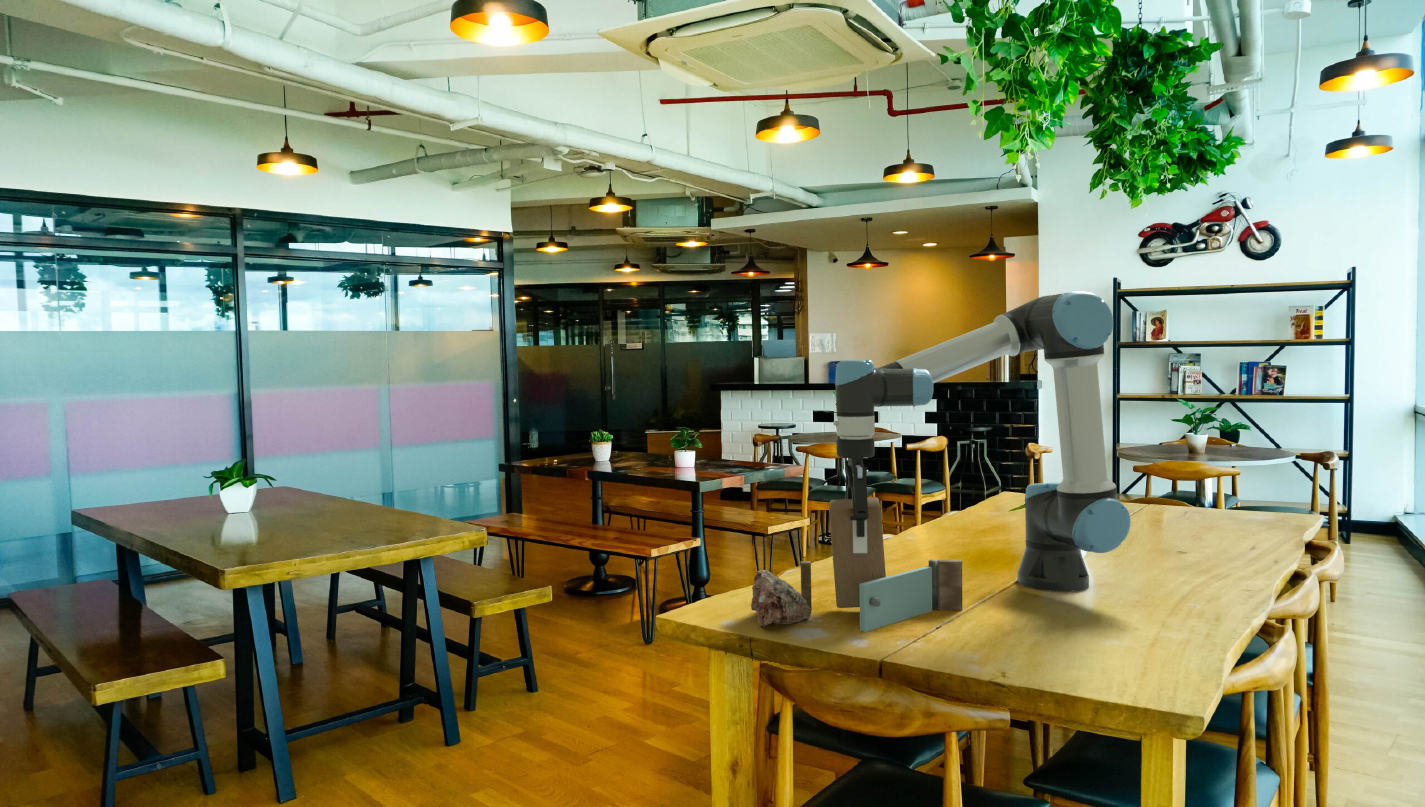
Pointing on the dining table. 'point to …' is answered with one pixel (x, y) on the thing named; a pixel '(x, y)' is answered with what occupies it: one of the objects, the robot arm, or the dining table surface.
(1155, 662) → the dining table surface
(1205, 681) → the dining table surface
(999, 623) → the dining table surface
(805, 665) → the dining table surface
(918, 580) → the door
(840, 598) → the wooden block
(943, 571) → the doorframe
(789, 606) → the rock
